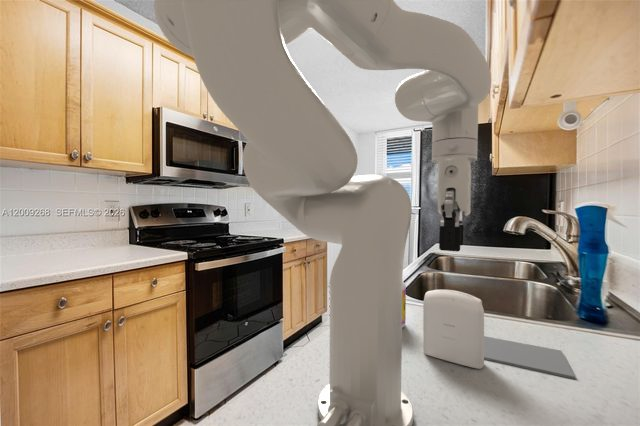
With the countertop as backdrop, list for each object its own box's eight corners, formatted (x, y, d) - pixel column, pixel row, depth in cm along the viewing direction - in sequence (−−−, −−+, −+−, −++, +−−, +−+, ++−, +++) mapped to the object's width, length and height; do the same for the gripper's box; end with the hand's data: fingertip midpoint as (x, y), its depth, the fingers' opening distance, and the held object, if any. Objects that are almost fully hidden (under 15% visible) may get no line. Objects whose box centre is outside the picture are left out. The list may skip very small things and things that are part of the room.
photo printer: (419, 355, 56) (420, 289, 56) (426, 346, 59) (427, 284, 59) (481, 373, 50) (483, 299, 49) (485, 362, 53) (486, 293, 53)
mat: (575, 379, 48) (575, 376, 48) (483, 359, 54) (483, 356, 54) (561, 352, 57) (561, 350, 57) (483, 337, 63) (483, 335, 63)
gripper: (477, 141, 45) (474, 255, 45) (477, 159, 60) (475, 244, 60) (424, 145, 48) (422, 251, 49) (437, 161, 64) (436, 241, 64)
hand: (451, 247), depth 54 cm, fingers open, 9 cm apart
